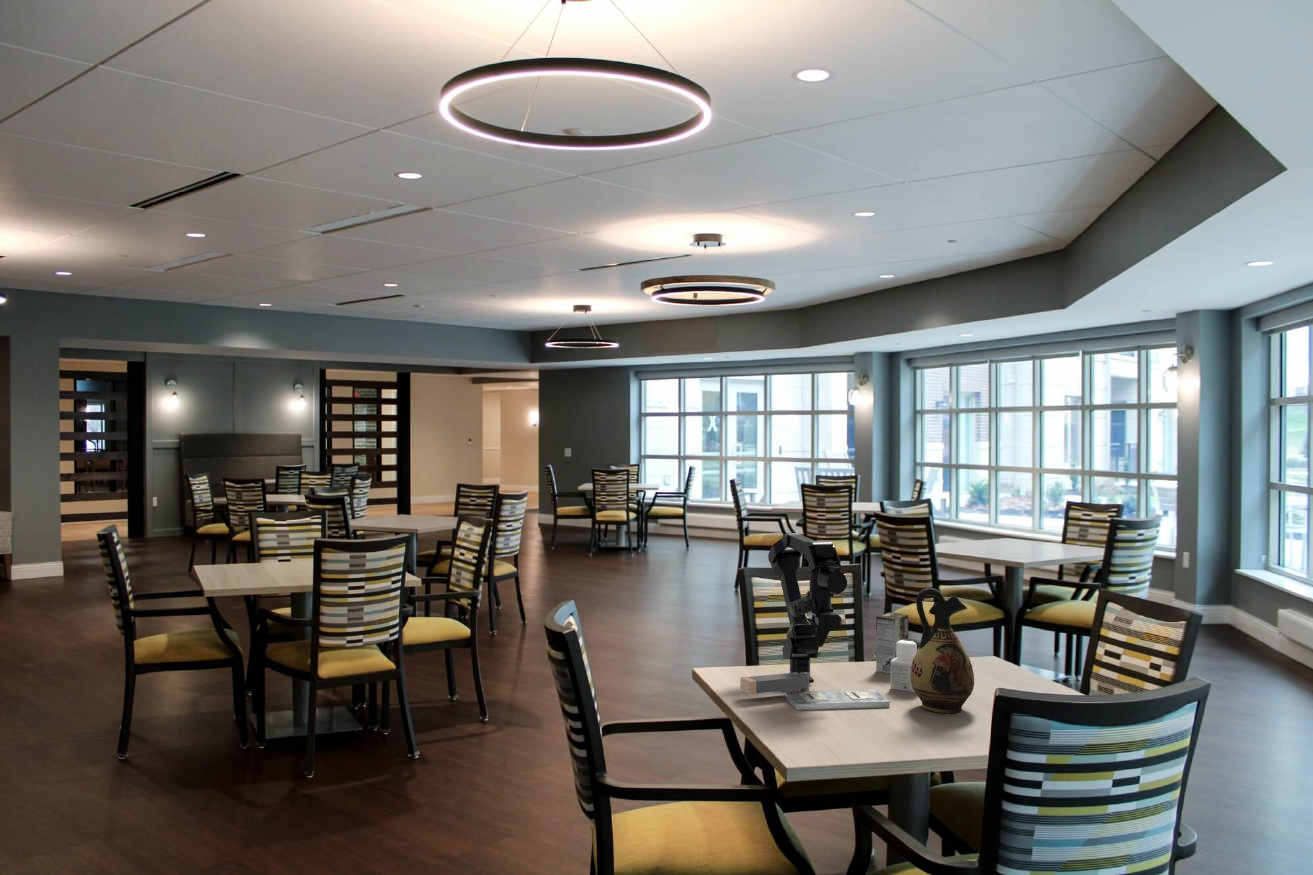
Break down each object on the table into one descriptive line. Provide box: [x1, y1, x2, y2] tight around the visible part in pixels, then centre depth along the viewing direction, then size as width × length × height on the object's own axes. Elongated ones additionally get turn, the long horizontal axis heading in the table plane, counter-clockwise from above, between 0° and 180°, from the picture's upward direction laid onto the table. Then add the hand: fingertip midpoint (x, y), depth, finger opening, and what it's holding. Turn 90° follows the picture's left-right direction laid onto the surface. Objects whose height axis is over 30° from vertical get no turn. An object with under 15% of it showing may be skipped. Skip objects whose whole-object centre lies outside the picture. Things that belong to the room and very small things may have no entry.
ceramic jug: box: [910, 587, 975, 715], centre depth 241 cm, size 17×15×30 cm
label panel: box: [784, 688, 891, 711], centre depth 246 cm, size 12×24×2 cm, turn 97°
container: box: [890, 638, 921, 693], centre depth 261 cm, size 8×8×13 cm
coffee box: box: [875, 611, 909, 675], centre depth 281 cm, size 9×6×16 cm
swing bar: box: [739, 672, 810, 695], centre depth 251 cm, size 19×5×5 cm, turn 111°
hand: (820, 646), depth 257 cm, fingers closed
